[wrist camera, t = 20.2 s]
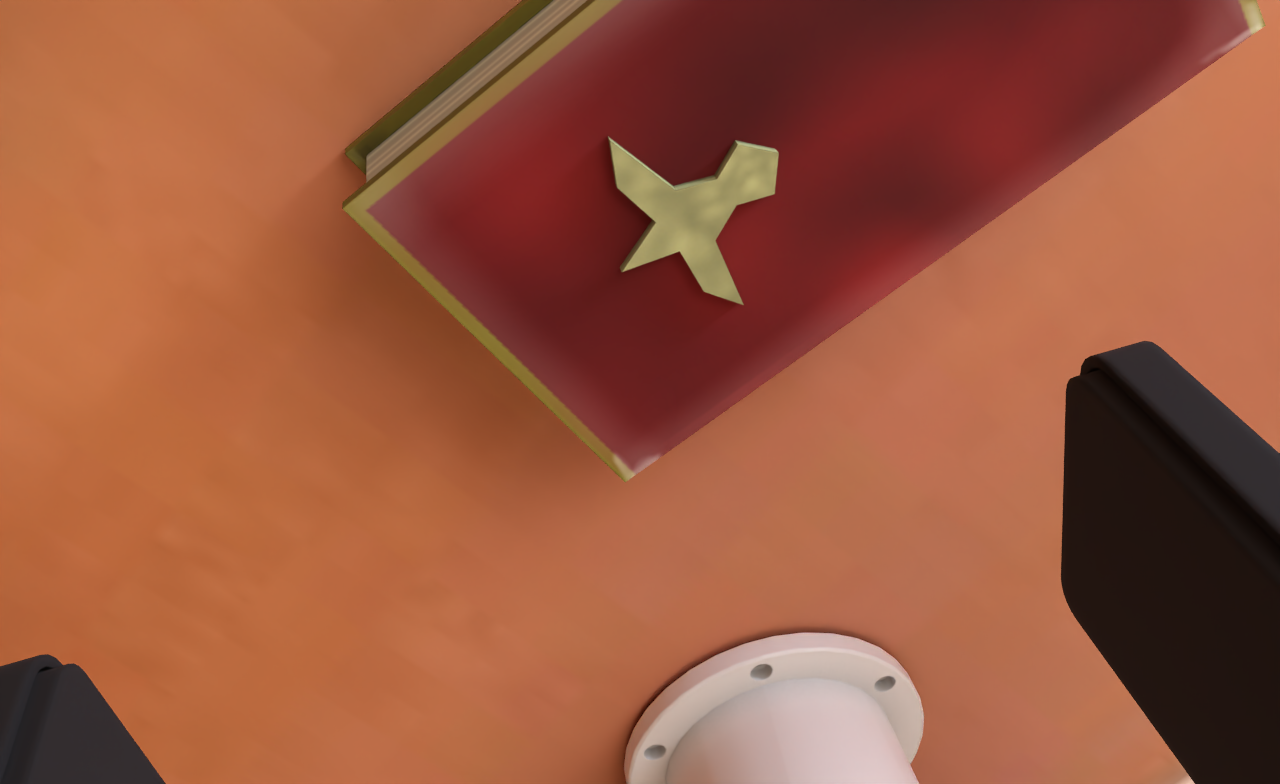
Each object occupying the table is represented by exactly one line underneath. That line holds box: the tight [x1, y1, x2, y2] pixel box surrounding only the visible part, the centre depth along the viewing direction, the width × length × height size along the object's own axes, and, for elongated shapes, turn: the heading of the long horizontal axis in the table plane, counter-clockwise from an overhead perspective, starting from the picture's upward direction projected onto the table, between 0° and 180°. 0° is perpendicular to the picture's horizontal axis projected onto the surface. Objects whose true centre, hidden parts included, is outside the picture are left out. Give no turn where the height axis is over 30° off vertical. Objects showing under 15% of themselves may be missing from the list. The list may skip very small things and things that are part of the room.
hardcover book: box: [342, 0, 1265, 482], centre depth 30 cm, size 12×21×4 cm, turn 126°
